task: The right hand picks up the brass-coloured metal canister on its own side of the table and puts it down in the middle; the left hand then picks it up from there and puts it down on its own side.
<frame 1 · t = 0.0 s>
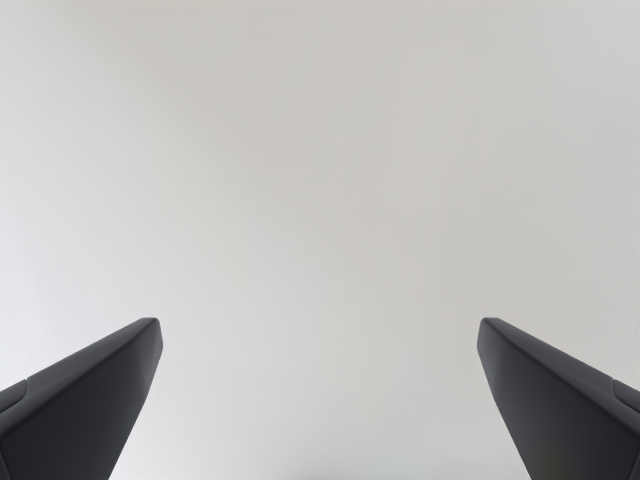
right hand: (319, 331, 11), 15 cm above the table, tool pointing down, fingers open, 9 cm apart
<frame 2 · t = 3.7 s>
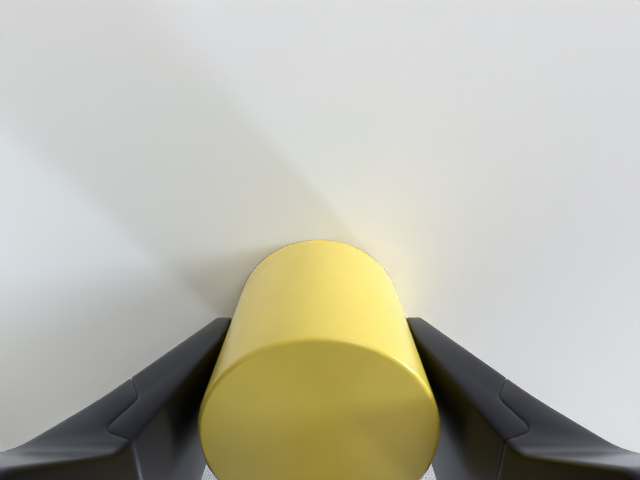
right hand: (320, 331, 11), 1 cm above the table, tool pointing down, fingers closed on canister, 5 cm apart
canister: (319, 311, 12), on the table, touching right hand
when the right hand's fingers open (2 cm above the table, at t = 8.1 s): canister stays where it is, on the table.
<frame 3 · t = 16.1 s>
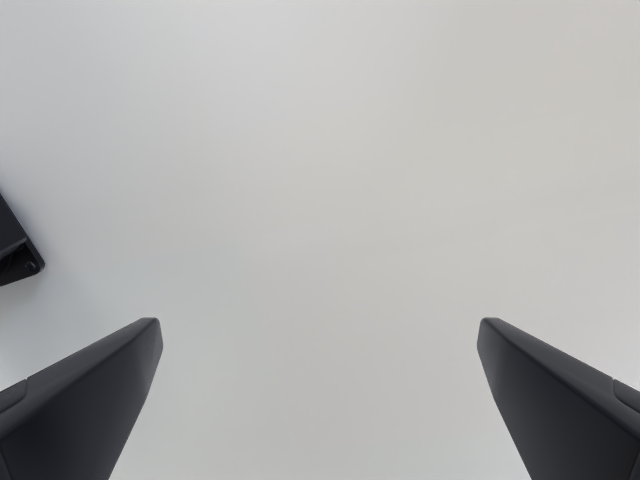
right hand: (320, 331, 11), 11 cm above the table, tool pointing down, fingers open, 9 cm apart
when the left hand's fingers open (1 cm above the table, at t = 24.1 s): canister stays where it is, on the table.
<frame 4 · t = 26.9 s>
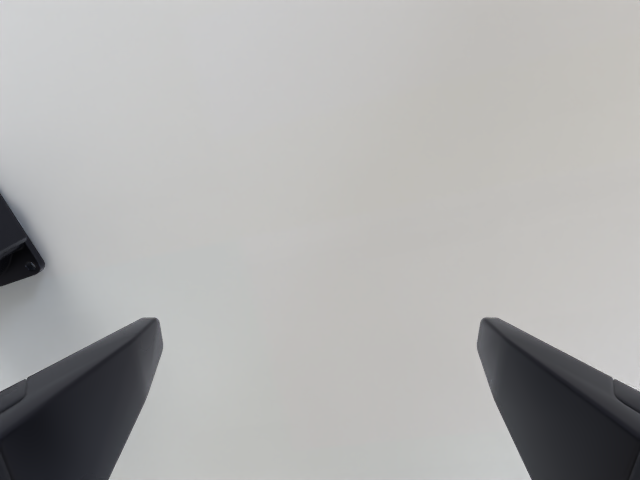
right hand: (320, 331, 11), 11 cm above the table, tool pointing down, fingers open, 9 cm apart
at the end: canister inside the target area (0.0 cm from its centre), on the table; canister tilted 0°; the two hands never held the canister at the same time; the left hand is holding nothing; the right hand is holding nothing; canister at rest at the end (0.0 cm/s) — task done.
